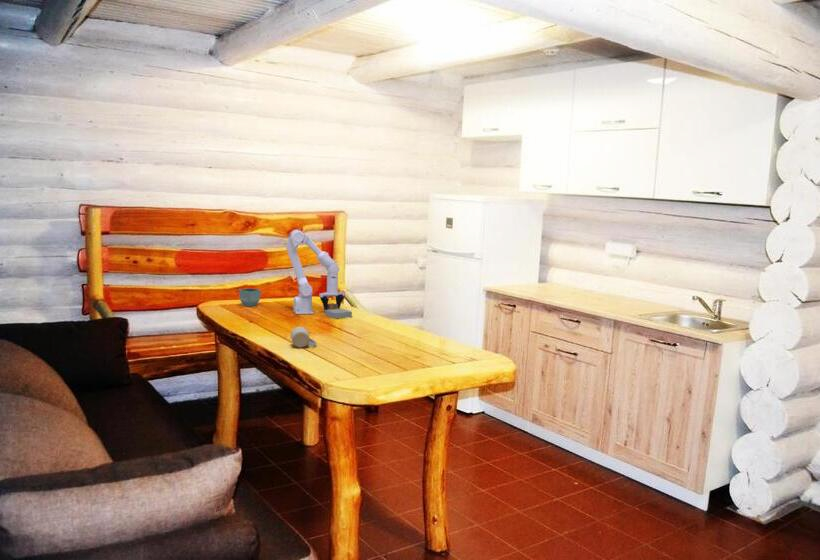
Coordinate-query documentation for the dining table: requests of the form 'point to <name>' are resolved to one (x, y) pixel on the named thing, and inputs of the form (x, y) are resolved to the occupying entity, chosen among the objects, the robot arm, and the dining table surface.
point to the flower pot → (249, 296)
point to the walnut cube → (332, 306)
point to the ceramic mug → (301, 337)
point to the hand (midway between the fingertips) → (331, 309)
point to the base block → (338, 313)
